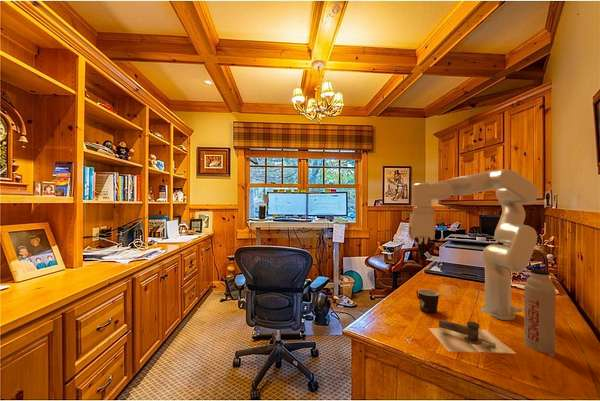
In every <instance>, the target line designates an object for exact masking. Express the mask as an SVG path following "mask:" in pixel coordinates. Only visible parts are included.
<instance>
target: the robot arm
mask: <svg viewBox="0 0 600 401" xmlns="http://www.w3.org/2000/svg"><path fill="white" fill-rule="evenodd" d="M491 190H495V196H496V199H497V200H498V202H499V203H500V206H501V209H502V210H501V211H502V212H501V215H500V218H499V221H498V223H497V225H496V227H495V230H494V239H495V240H496V241H497V242H498V243H502V244H505V245H510V247H509V246H505V245H500V244H489V245H487V246H485V247H484V248H483V250H482V261H483V265H484V306H482V307H481V308H480V312H481V313H482V312H483V313H486V314H488V315H490V317H492V318H494V319H496V320H500V321H513V320H515V319H516V315H515V313H516V312H517V313H522V312H524V309H523V308H522V307H517V306H516V307H515V305H512V276H511V273H510V271H512V272H517V273H518V272H521V271H524V270H525V269H526V268H527V267H528V265H529V263H530V261H531V258H532V255H533V253H534V251H535V248H536V246H537V242H538V234H537V231H536V229H534V227H531V226H530V225H526V224H524V222H525V219H526V211H525V208H524V206H523V205H522V204H529V203H532V202H534V201H536V200H537V199H538V198H539V194H540V192H539V189H538V187H537V186H536V185H535V184H534V183H533V182H531V181H530V180H528V179H527V178H525V177H524V176H522V175H521V174H519V173H517V172H516V171H514V170H512V169H509V168H502V169H494V170H487V171H481V172H478V173H473V174H472V173H471V174H468V175H462V176H458V177H453V178H450V179H444V180H438V181H435V182H430V183H429V182H417V183H413V185H412V213H410V215H409V221H408V235H409V236H408V238H409V240H413V241H414V242H416V243H417V251H418V253H419V254H426V251H427V244H428V243H429V242H430V241H433V240H435V239H436V237H435V235H436V225H435V224H436V223H435V218H434V215H433V214H434V213H433V212H435V210H436V209H435V208H434V207H432V200H437V201H439V200H446V199H449V198H450V197H451V196H465V195H473V194H477V193H482V192H487V191H491Z"/></svg>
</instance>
